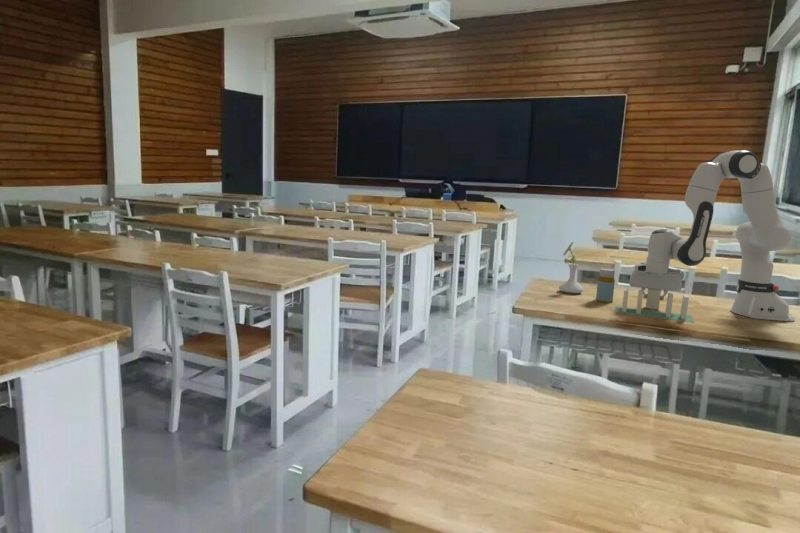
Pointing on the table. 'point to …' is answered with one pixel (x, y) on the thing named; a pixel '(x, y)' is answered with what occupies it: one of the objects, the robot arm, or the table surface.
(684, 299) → the domino
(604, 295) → the bottle
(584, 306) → the table surface
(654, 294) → the domino
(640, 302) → the domino
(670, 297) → the domino
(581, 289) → the flower in vase
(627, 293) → the domino end
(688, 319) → the felt runner
